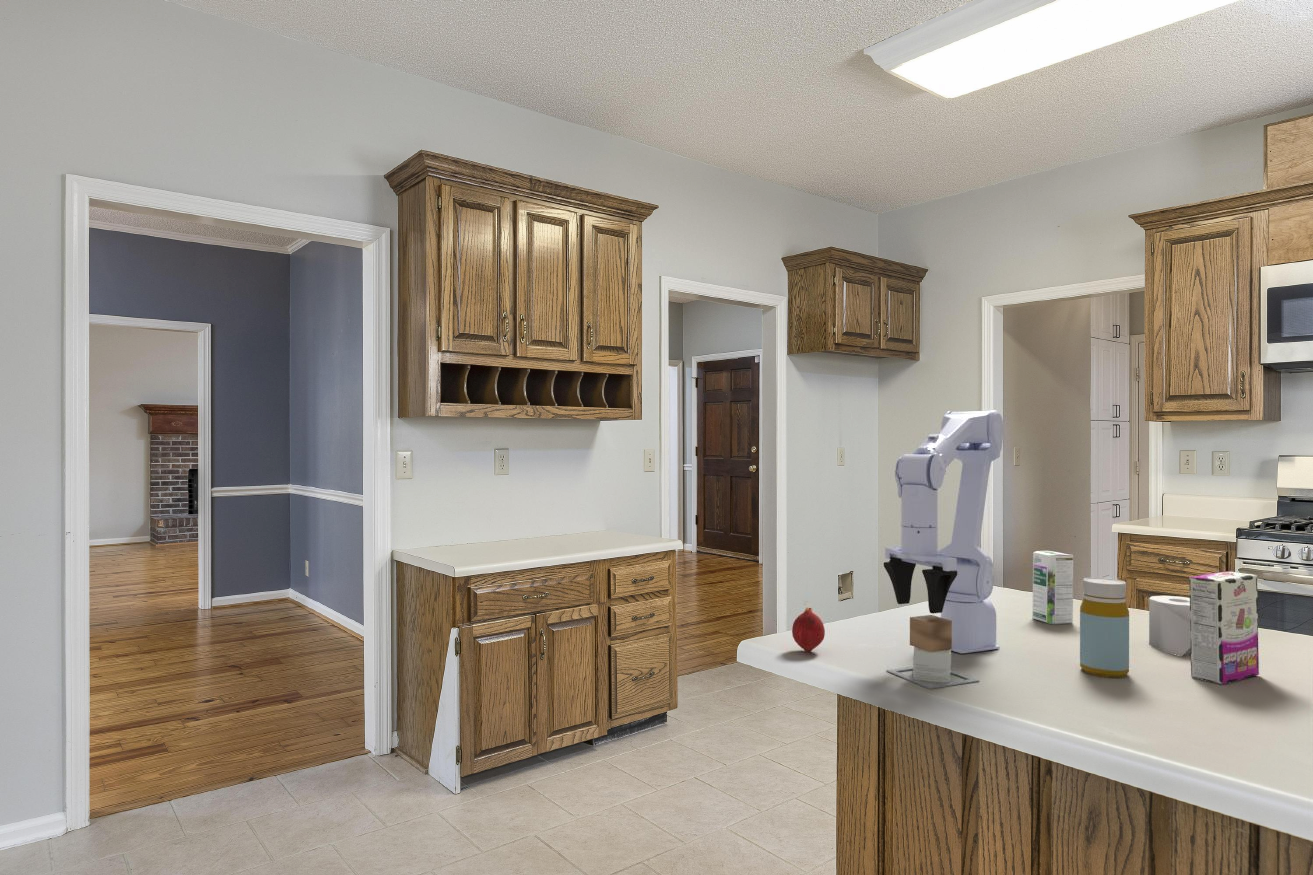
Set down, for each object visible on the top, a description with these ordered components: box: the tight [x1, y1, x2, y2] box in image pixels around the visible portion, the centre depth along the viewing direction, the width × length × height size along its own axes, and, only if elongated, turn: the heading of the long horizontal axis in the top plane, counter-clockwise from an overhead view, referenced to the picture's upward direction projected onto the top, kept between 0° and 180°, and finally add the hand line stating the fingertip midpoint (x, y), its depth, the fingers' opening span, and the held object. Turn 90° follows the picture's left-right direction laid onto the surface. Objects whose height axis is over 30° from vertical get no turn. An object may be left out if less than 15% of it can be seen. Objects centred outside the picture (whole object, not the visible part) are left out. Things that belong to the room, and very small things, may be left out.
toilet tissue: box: [1148, 595, 1191, 657], centre depth 143 cm, size 9×13×9 cm
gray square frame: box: [885, 666, 980, 690], centre depth 126 cm, size 10×10×1 cm
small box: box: [912, 646, 952, 684], centre depth 126 cm, size 6×6×5 cm
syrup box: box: [1031, 550, 1074, 625], centre depth 166 cm, size 6×6×14 cm
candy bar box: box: [1188, 571, 1260, 685], centre depth 127 cm, size 11×5×16 cm, turn 118°
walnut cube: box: [909, 614, 952, 652], centre depth 126 cm, size 4×4×4 cm
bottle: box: [1079, 577, 1130, 679], centre depth 129 cm, size 7×7×15 cm
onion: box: [791, 606, 826, 653], centre depth 140 cm, size 6×6×8 cm
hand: (919, 607), depth 130 cm, fingers open, 7 cm apart
